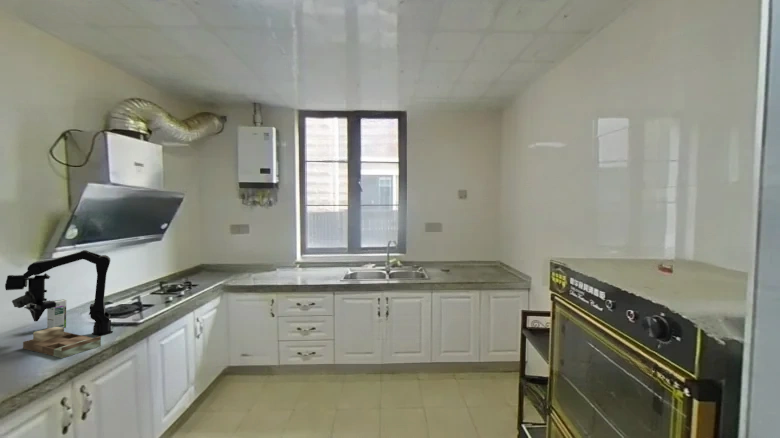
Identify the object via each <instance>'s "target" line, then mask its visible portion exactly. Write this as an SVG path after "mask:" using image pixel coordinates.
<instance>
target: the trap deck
mask: <svg viewBox="0 0 780 438" xmlns="http://www.w3.org/2000/svg"><path fill="white" fill-rule="evenodd" d="M101 340H102V336H99V335H98V336H97V337H90V336H86V335H81V334H77V333H71V332H67V331H64V335H63V336H59V337H56V338H52V339H48V340H45V341H41V342H40V341H36V340H33V338H31V339H28V340H25V341H23V342H22V349H24V350H28V351H31V352H36V353H40V354H45V355H49V356H52V357H55V358H61V359H64V358H66V357H67V358H68V357H70V356H73V355H76V354H77V355H78V354H79V353H83V352H86V351H90V350H92V349H95V348H99V347H101V345H102V343H101V342H102V341H101Z"/></svg>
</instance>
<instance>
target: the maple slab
mask: <svg viewBox="0 0 780 438" xmlns="http://www.w3.org/2000/svg"><path fill="white" fill-rule="evenodd" d="M64 332H65V327H64V328H61V327H53V328H49V329H48V328H45V329H42V330H37V331H34V332H33V334H32V335H33V336H32V339H33V340H36V341H40V342H41V341H45V340H48V339H52V338H56V337H59V336H63V335H64Z"/></svg>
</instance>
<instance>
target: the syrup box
mask: <svg viewBox="0 0 780 438" xmlns="http://www.w3.org/2000/svg"><path fill="white" fill-rule="evenodd" d="M51 301H54V302H56V307H54V308H49V309H46V315H47V316H46V320H47V321H46V323H47V324H46V329H49V328H53V327H61V328H64V329H65V328H66V327H67V300H66V299H63V298H58V299H52V300H51Z"/></svg>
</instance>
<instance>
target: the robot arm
mask: <svg viewBox="0 0 780 438" xmlns="http://www.w3.org/2000/svg"><path fill="white" fill-rule="evenodd" d="M80 260H85V261H88V262H90V263H91V264H93V265H95V269H96V285H95V292H94V293H95V295H94V302H93V303H90V305H89V313H88V315H89V316H90V319H92V320H93V321H94V322H93V324H94V325H93V328H92V331H93V332H92V333H91V335H95V336H98V337H99V336H101V337H102V336H105V335H108V334H111V333H113V332H114V331H113V330H112V319H110V318H111V314H110V313H109V312H107V311H106V304H105V292H106V291H105V290H106V283H107V282H106V280H107V273H108V269H109V268H110V264H111V258H110V257H109V256H108V255H106V254H104V255H103V254H102V255H101V254H98V253H94V252H91V251H90V250H88V249H87V250H86V249H85V250H83V249H82V250H81V251H78V252H74V253H70V254H68V255H64V256H59V257H57V258H52V259H46V260H45V259H43V260H38V261H34V262H32V263H31V264H29V265H28V266H27V269H26V270H27V271H26V272H25V273H23V274H15V275H14V274H8V275H7V277H6V281H5V285H4V287H5V291H15V290H16V291H17V290H24V289H25V288H27V290H26V291H25V292H24V295H21V296H19V297H17V298H15V299H12V301H11V302H12V305H13V307H14V308H18V309H21V308H23V307H24V309H26V310H28V311H29V312H30V314H31V316H32V319H33V322H38V321H39V320H40V318H41V316H42V315H43V313H44V312H45V310H47V309H49V308H54V307H56V302H54V301H52V300H47V299H48V298H45V293H48V290H47V289H45V284H46V282H45V281H46V280H49V279H50V278H51V276H50V275H48V274H47V273H46V272H48V271H50V270H53V269H55V268H58V267H60V266H64V265H67V264H71V263H74V262H78V261H80ZM43 273H44V274H43ZM32 276H34V277H32Z"/></svg>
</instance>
